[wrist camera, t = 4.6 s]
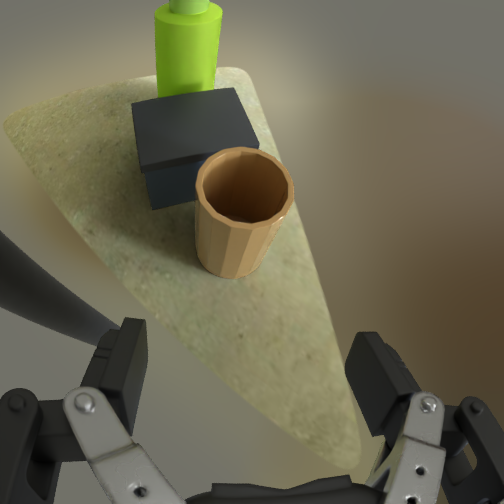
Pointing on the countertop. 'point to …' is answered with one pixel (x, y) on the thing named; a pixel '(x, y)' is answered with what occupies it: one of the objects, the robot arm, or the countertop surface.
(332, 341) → the countertop surface
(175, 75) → the soap dispenser
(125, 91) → the countertop surface
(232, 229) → the cup
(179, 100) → the dark grey box
